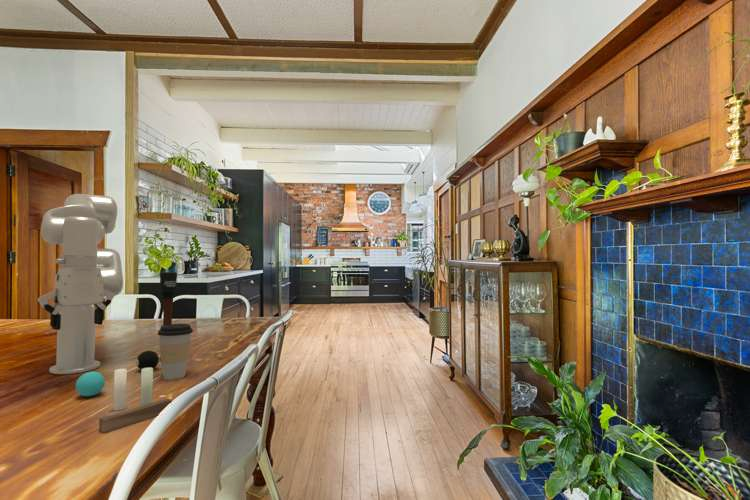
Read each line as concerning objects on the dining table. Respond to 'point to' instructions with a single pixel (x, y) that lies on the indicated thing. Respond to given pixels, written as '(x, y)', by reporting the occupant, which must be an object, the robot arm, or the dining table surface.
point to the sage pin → (146, 385)
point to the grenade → (168, 294)
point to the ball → (90, 384)
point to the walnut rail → (132, 415)
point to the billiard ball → (147, 360)
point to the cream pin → (120, 389)
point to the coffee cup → (174, 349)
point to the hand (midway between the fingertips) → (77, 326)
